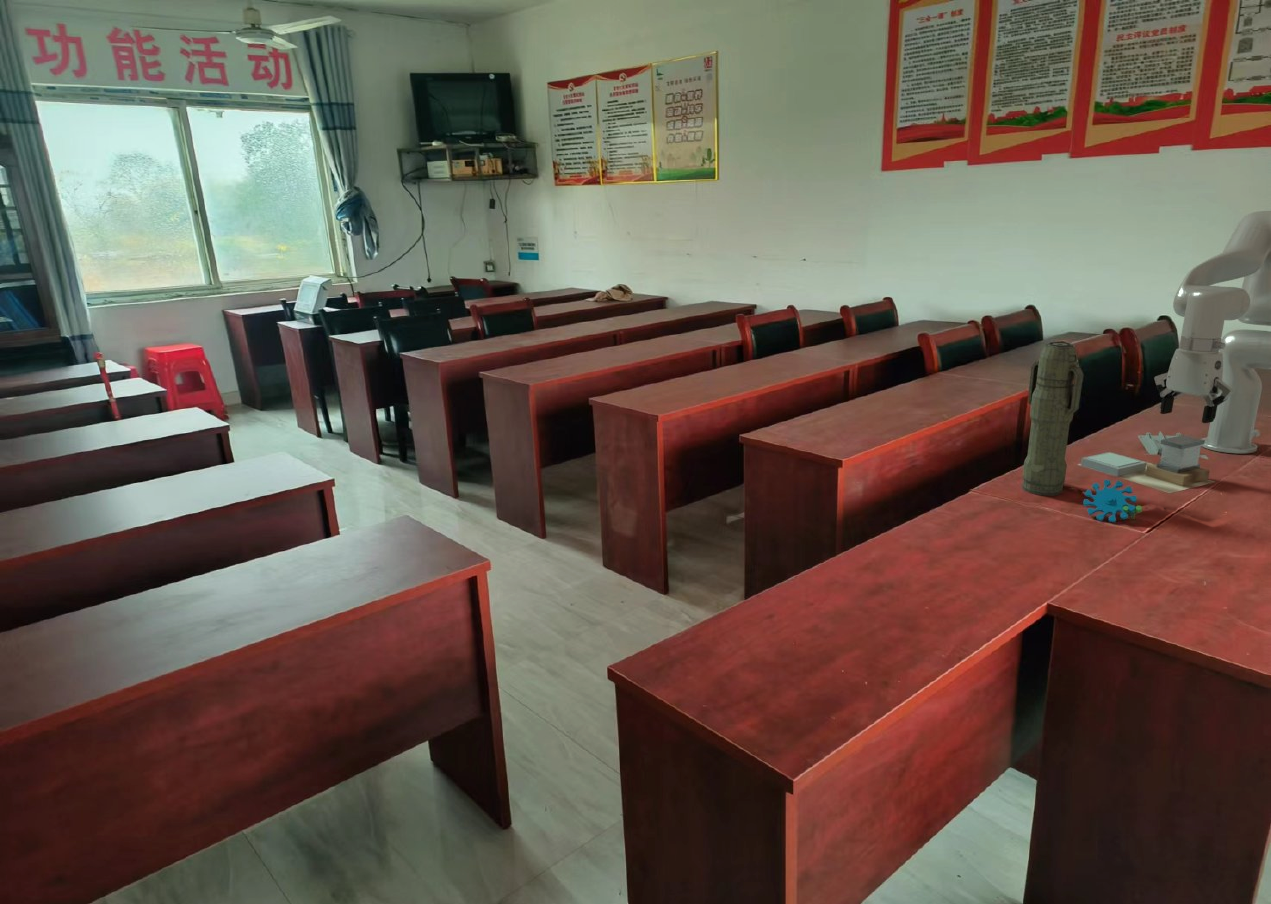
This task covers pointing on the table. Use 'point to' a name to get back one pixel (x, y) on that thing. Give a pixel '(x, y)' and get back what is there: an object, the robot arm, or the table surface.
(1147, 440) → the metal bracket
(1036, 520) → the table surface
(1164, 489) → the board
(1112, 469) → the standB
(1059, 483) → the thermos
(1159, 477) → the stand
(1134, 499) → the gear
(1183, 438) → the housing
